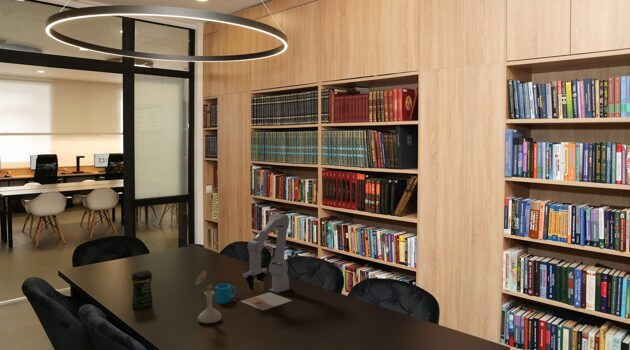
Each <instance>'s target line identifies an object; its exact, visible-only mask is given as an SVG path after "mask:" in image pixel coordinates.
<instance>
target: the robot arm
mask: <svg viewBox="0 0 630 350" xmlns="http://www.w3.org/2000/svg"><path fill="white" fill-rule="evenodd" d="M289 223H290V218H289V216H288V214H282V213H281V214H280V213H274V212H272V213H270V215H269V217H268V222H267V223H266V225H265V226H264V228H263V230H259V231H258V232H257V234H256V235H255V237H254V238H253V239H251V240H249V241H248V243H247V251H248V254H249V270H248V271H246V272H244V273H243V274H242V277H243V278H245V280H246V283H247V282H248V285H249V288H250V289H251V290H253V282H254V279H255V277H253V276H256V279H257V280H260V281H263V282H264V280H265V277H266V273H267V272H268V271H269V273H270V275H271V282H272V283H271V288H269V289H268V290H269V291H272V292H275V293H281V292H285V291H288V290H290V278H289V275H288V274H287V273H288V271H289V267H288V261H287V260H286V259H285V251H286V242H287V235H288V234H287V232H288V229H289ZM274 228H275V229H276V230H277V235H276V245H275V252H274V257H273V258H272V259H271V260H270V264H269V267H268V268H266V267H264V268H262V266H261V265H262V264H261V262H262V261H261V259H262V258H261V252H262V250H263V248H264V245H265V243H266V241H267V240H268V239H269V234H270V233H271V232H272V230H273V229H274Z"/></svg>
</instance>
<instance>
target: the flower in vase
mask: <svg viewBox="0 0 630 350" xmlns="http://www.w3.org/2000/svg"><path fill="white" fill-rule="evenodd" d="M207 273H208V272H207V271H206V270H203V271H201V272H200V274H199V275H198V276H197V277H196V279H195V281H194V285H195V286H199V285H200V284H201V283H202V282H203V283H204V286H205V287H203V288H202V289H201V290H200V291H199V293H200V294H201V293H203V294H204V295H205V297H206V307H205V309H204V310H203V311H202V312H201V313H200V314H199V315H198V316H197V321H198V322H200V323H202V324H214V323H217V322H219V321H221V320H222V318H223V315H222V314H221V312H220V311H218V310H216V309H215V308H214V307H213V297H214V294H216V291H214V290H213V283H210V284H209V285H207V284H206V282H205V280H204V279H205V278H206V276H207Z"/></svg>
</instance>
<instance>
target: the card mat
mask: <svg viewBox="0 0 630 350" xmlns="http://www.w3.org/2000/svg"><path fill="white" fill-rule="evenodd" d="M292 301H293V300H291V299H290V298H286V297H283V296H281V295H277V294H275V293H272V292H270V291H269V292H265V293H262V294H259V295H256V296H253V297H249V298H247V299H243V300H240V303H243V304H246V305H248V306H250V307H251V306H252V307H253V308H255V309H258V310H261V311H266V310H269V309H271V308H274V307H277V306H280V305H283V304H287V303H289V302H292Z"/></svg>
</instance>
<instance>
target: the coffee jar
mask: <svg viewBox="0 0 630 350" xmlns="http://www.w3.org/2000/svg"><path fill="white" fill-rule="evenodd" d="M131 275H132V276H131V283H132V287H133V288H132V290H133V291H132V300H131V301H132V302H131V307H132V308H133V309H134V310H143V309H148V308H150V307H152V306H153V295H152V288H151V287H152V280H153V275H152V272H151V271H150V270H142V271H138V272H133V273H132V274H131Z"/></svg>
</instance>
